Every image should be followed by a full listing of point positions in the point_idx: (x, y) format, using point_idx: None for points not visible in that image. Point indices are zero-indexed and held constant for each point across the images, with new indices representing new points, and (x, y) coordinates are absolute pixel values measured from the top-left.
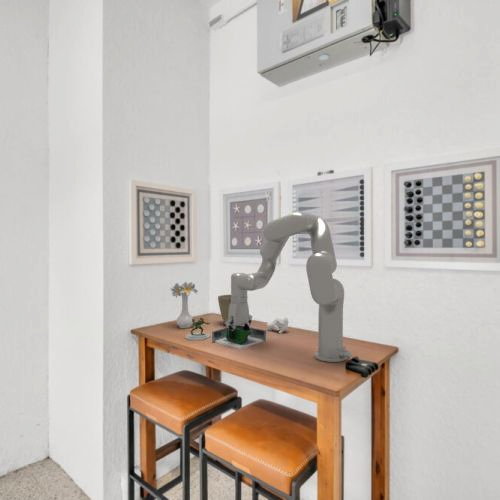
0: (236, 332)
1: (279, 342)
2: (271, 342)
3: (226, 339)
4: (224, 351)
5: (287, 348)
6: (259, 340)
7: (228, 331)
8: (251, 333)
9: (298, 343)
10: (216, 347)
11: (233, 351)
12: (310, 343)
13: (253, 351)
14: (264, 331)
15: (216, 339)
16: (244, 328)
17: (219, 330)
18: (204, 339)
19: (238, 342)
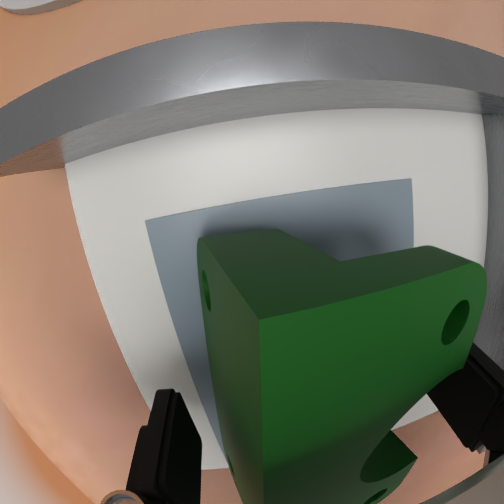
0: (247, 485)
1: (453, 436)
2: (440, 427)
3: (218, 218)
4: (67, 423)
5: (383, 499)
6: (420, 414)
7: (226, 322)
8: (498, 318)
9: (463, 459)
10: (33, 325)
11: (121, 456)
12: (473, 463)
13: (231, 498)
14: (478, 449)
15: (85, 155)
16: (474, 393)
17: (87, 123)
18: (64, 4)
19: (222, 439)
